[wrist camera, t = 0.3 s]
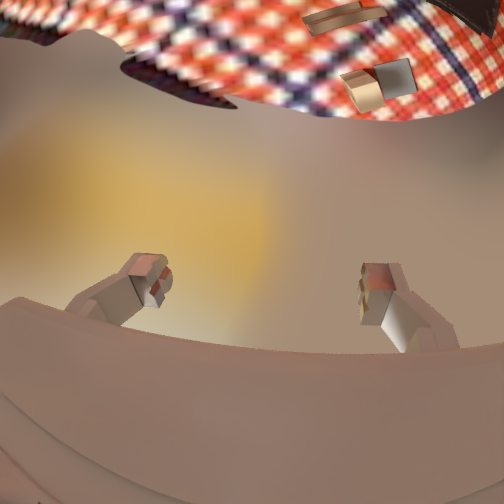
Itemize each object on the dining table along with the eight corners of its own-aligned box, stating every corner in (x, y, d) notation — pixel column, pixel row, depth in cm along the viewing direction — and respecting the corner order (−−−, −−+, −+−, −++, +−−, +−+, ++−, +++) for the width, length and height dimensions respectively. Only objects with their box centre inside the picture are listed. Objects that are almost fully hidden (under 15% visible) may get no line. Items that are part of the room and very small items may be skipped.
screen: (311, 36, 39) (320, 42, 30) (301, 18, 36) (306, 18, 27) (366, 20, 33) (391, 23, 24) (357, 1, 30) (379, -2, 22)
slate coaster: (372, 65, 41) (373, 66, 40) (405, 58, 37) (407, 58, 37) (384, 98, 46) (385, 99, 45) (415, 90, 42) (417, 92, 42)
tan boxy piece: (339, 75, 44) (351, 89, 37) (362, 68, 42) (378, 81, 35) (348, 95, 47) (360, 113, 40) (370, 89, 45) (386, 106, 38)
